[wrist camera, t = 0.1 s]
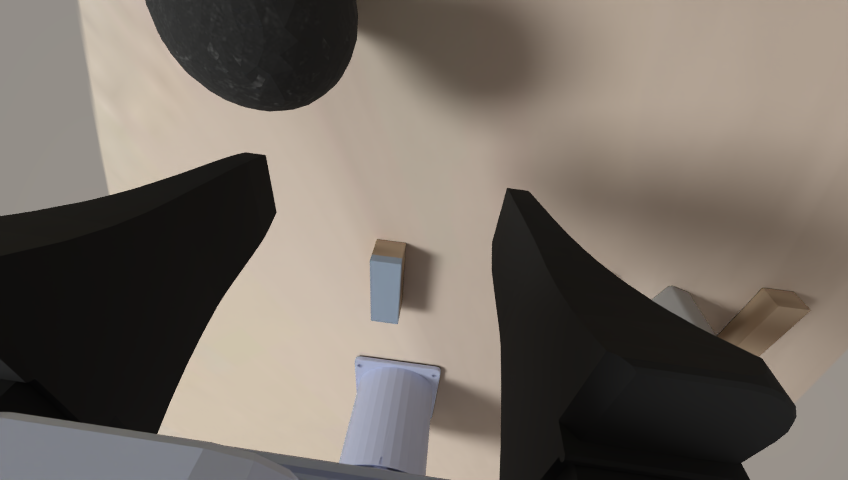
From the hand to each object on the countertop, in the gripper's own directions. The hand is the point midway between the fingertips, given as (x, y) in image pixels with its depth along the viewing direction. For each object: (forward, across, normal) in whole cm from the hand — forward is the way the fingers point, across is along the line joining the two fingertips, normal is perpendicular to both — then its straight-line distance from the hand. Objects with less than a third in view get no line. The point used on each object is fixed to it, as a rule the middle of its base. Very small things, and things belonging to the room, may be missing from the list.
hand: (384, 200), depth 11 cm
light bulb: (+10, +4, -4) cm, 12 cm away
